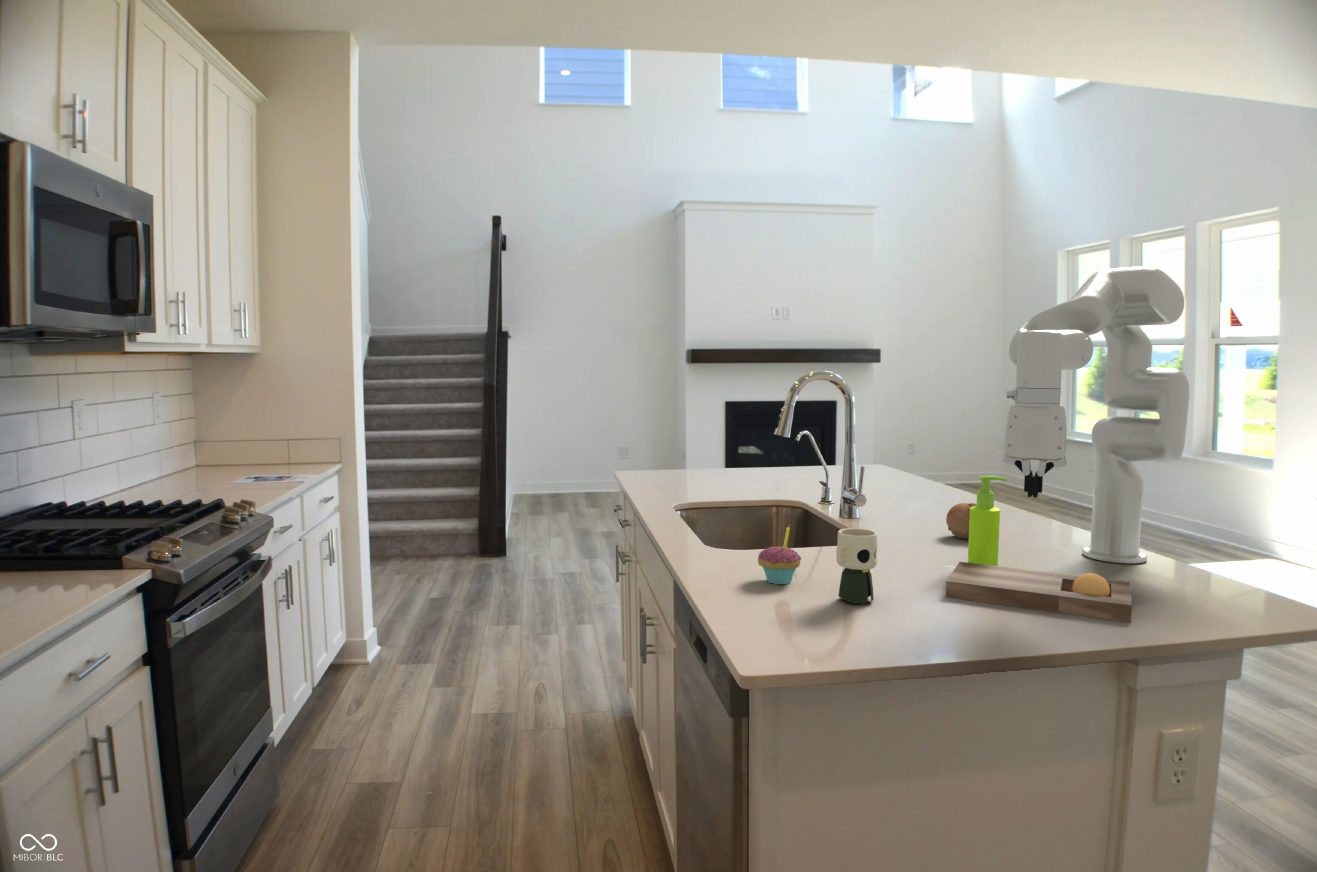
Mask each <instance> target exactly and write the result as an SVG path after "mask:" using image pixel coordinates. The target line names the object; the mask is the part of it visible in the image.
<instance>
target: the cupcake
mask: <svg viewBox="0 0 1317 872" xmlns="http://www.w3.org/2000/svg"><path fill="white" fill-rule="evenodd" d="M790 526H791V524H790V523H789V524H788V526H787V527H786V528H785V529H786V530H785V535H784V541H783V545H782V546H777V545H776V546H769V547H766V548H764V549H763V550H762V551H761V550H760V552H759V553H758V557H757V564H758V566H761V567H762V569H763V572H764V574H765V578H766V581H767V583H769V582H770V583H769V584H771V583H774V584H773V585H777V584H785V585H788V584H787V583H789V584H791V583H792V582H793V581H792V580H793V578H794V574H795V572H796V570H797V568H799V567H800V566H801V560H802V556H800V554H798V552H797V551H794V549H792V548H791V547H788V540H789V536H790V531H791V528H790ZM790 582H791V583H790Z"/></svg>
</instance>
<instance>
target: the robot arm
mask: <svg viewBox="0 0 1317 872" xmlns="http://www.w3.org/2000/svg"><path fill="white" fill-rule="evenodd" d="M1184 309H1185V297H1184V293H1183V291H1182V288H1181V287H1180V286H1179V284H1178V283H1176V281H1175V280H1174V279H1172V278H1171V277H1170V276H1169V275H1168V274H1167V273H1165V271H1163V270H1161V269H1160V268H1157V267H1155V266H1151V265H1150V266H1149V265H1147V266H1145V265H1143V266H1141V265H1140V266H1129V267H1117V268H1115V267H1114V268H1105V269H1102V270H1098V271H1096V272H1094V273H1093V274H1092V275H1091V276H1090V277H1088V279H1086V280H1085V282H1084V283H1083V284H1082V285H1081V287H1080V288H1079V289H1078V290H1077V291H1076V292H1075V293H1074V295H1073V296H1072V297H1071V298H1070V299H1069V300H1066V301H1064V302H1062V303H1058V304H1056V305H1055V306H1052V307H1050V308H1047V309H1045V310H1043V311H1039V312H1037V313H1036V314H1035V315H1033V316H1031V317H1029V318H1028V319H1027V320H1025V322H1024V323H1023V324H1022V325H1021V326H1020V327H1018V329H1017V330H1016V332H1015V333H1014V335H1013V336H1012V338H1011V341H1010V342H1009V348H1008V354H1009V355H1008V357H1009V360H1010V361H1011V363H1012V364H1013V365H1014V366H1015V367H1016V370H1015V371H1016V373H1015V375H1016V376H1015V388H1014V389H1013V390H1007V391H1006V399H1011V400H1013V401H1014V403H1013V404H1010V405H1009V408H1008V411H1007V418H1006V427H1005V434H1004V446H1003V447H1004V448H1003V449H1004V455H1003V458H1002V462H1003V463H1005V464H1007V465H1011V466H1015V467H1016V468H1017V469H1018V470H1019V471H1020V472H1021V473H1022V475H1024V483H1023V484H1024V485H1023V486H1024V487H1023V492H1026V493H1027V498H1031V497H1033V498H1038V496H1039V494H1042V493H1043V484H1044V475H1046V474H1047V473H1048V472H1049V471H1050V470H1052V469H1055V468H1063V467H1066V466H1067V464H1068V461H1067V456H1066V451H1067V416H1066V410H1065V409H1066V408H1065V406H1064V405H1061V395H1062V394H1061V393H1062V391H1061V389H1062V372H1063V371H1072V370H1073V371H1075V370H1079V369H1082V368H1084V367H1085V366H1087V365H1088V363H1090V361H1091V359H1092V357H1093V355H1094V344H1093V341H1092V339H1091V337H1090V336H1092V335H1095V334H1098V333H1100V332H1102V334H1103V336H1104V339H1105V342H1106V347H1107V350H1106V351H1107V354H1106V363H1105V372H1104V373H1105V377H1104V384H1103V385H1104V386H1103V399H1104V402H1105V404H1106V406H1107V407H1109V408H1110V409H1112V410H1113V409H1114V410H1118V411H1125V412H1126V411H1127V412H1128V411H1129V412H1147V413H1157V414H1158V417H1159V418H1148V417H1136V416H1107V417H1103V418H1101V419H1099V420H1098V421H1097V422H1095V424H1094V425H1093V427H1092V431H1091V445H1092V452H1093V461H1094V465H1093V467H1094V472H1093V473H1094V475H1093V493H1092V509H1091V510H1092V511H1091V513H1092V514H1091V530H1090V545H1087V546H1084V547H1083V548H1082V549H1081V551H1082V552H1081V553H1082V555H1084V557H1087V558H1090V559H1093V560H1097V561H1102V562H1107V563H1114V564H1115V563H1118V564H1142V563H1145V562H1146V561H1147V560H1148V555H1147V554H1146V553H1145V552H1143V551H1140V541H1141V526H1142V512H1143V511H1142V510H1143V508H1142V507H1143V498H1144V497H1143V496H1144V480H1143V477H1142V475H1141V472H1140V471H1139V470H1138V468H1137V467H1136V466H1135V464H1134V462H1140V463H1153V464H1173V463H1175V462H1178V461H1179V460H1180V459H1181V457H1182V456H1183V452H1184V449H1185V442H1186V437H1187V436H1186V435H1187V426H1188V425H1187V424H1188V416H1189V415H1188V412H1189V402H1190V382H1189V379H1188V376H1187V375H1186V374H1185V372H1183V371H1182V370H1180V369H1177V368H1173V367H1171V368H1170V367H1152V354H1153V344H1152V341H1151V340H1150V338H1149V337H1148V335H1147V334H1146V332H1145V331H1143V330H1142V328H1141V327H1140V326H1164V325H1165V326H1166V325H1170V324H1171V325H1172V324H1174V323H1175V322H1177V321H1178V320H1179V319H1180V318H1181V316H1182V315H1183V312H1184ZM1031 460H1032V461H1039V462H1038V466H1037V470H1036V471H1035V473H1033V470H1032V469H1031V466H1032V465H1031Z"/></svg>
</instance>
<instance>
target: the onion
mask: <svg viewBox="0 0 1317 872" xmlns="http://www.w3.org/2000/svg"><path fill="white" fill-rule="evenodd" d="M976 504H977V503H976V502H974V503H973V502H970V503H969V502H968V503H967V502H960V503H957V504H953V506H952V507H950V509H949V510H948V512H947V513H946V517H945V523H946V525H947V528H948V531H950V532H951V534H952V535H953V536H955V537H956V538H957V539H960V540H969V520H970V507H972V506H976Z"/></svg>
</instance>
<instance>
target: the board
mask: <svg viewBox="0 0 1317 872" xmlns="http://www.w3.org/2000/svg"><path fill="white" fill-rule="evenodd" d="M948 576H949V577H948V578H947V579H946V581H945V582H946V584H945V597H948V598H954V599H961V600H970V601H975V602H976V601H977V602H983V603H990V604H997V605H1005V606H1010V607H1011V606H1012V607H1018V608H1019V607H1020V608H1025V609H1033V610H1039V611H1046V612H1053V611H1055V612H1054V613H1060V612H1061V614H1066V615H1074V614H1077V615H1076V616H1081V615H1082V617H1088V616H1089V617H1091V618H1095V617H1099V618H1098V619H1102V618H1104V620H1110V621H1117V620H1120V621H1119V622H1124V621H1125V623H1132V612H1133V603H1132V602H1133V601H1132V594H1131V593H1132V592H1131V585H1130V581H1126V580H1125V581H1124V580H1116V579H1107V578H1104V579H1105V580H1106V581H1107V583H1108V584H1109V587H1110V596H1109V597H1106V596H1098V595H1090V594H1083V593H1075V592H1073V590H1072V586H1073V583H1074V581H1075V579H1076V578H1077V577H1078V576H1079V575H1074V574H1067V573H1066V574H1065V573H1058V572H1050V571H1041V570H1034V569H1026V568H1025V569H1023V568H1016V567H1015V568H1014V567H1007V566H999V565H998V566H992V565H984V564H976V563H968V561H967V562H966V561H958V564H957V565H956V566H955V568H954V569H953V571H952V572H951V573H950V575H948Z"/></svg>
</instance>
